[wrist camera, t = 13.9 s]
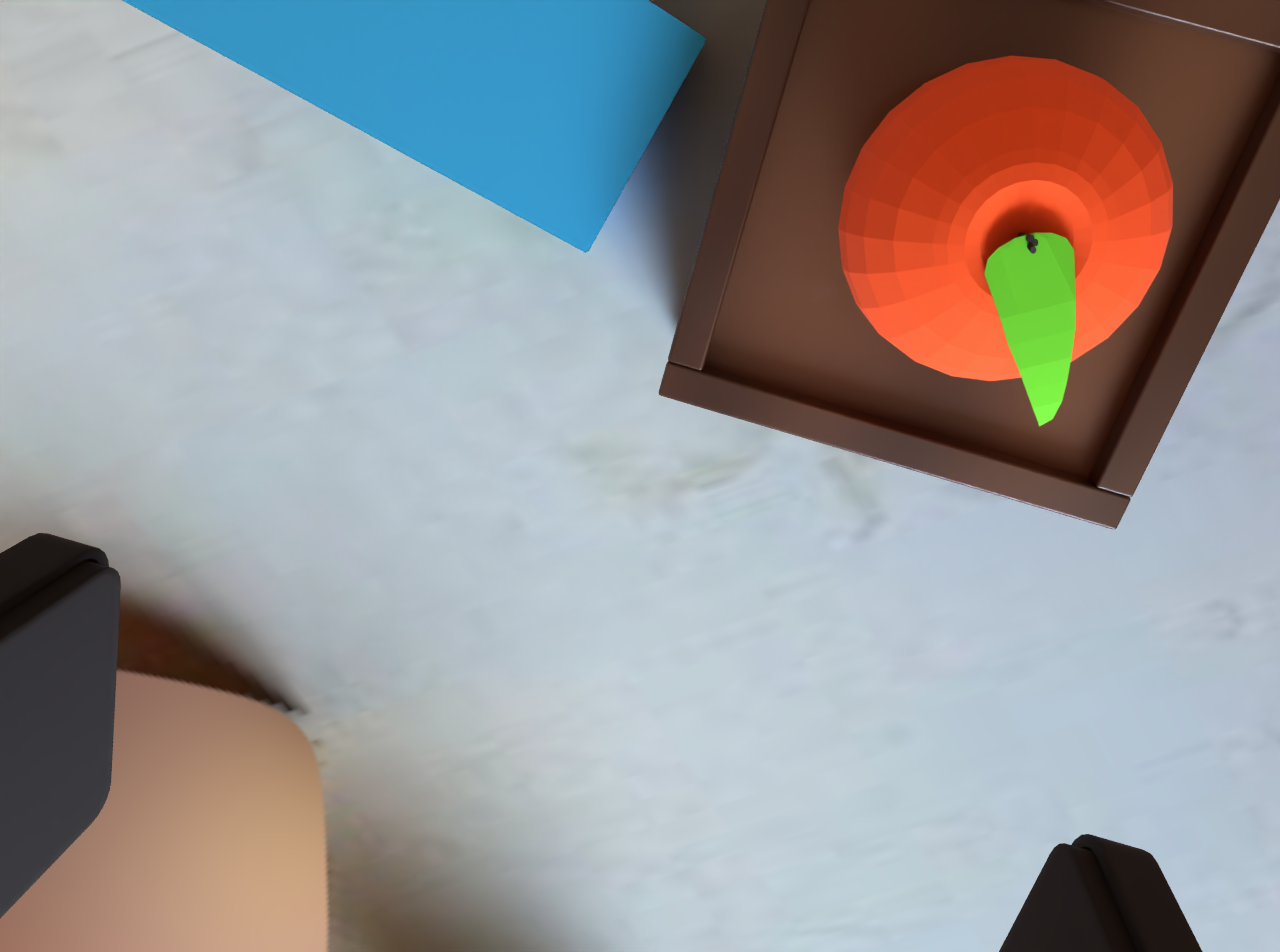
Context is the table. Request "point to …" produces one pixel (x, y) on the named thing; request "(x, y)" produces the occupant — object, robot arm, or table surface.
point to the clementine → (1006, 221)
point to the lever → (474, 85)
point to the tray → (823, 302)
